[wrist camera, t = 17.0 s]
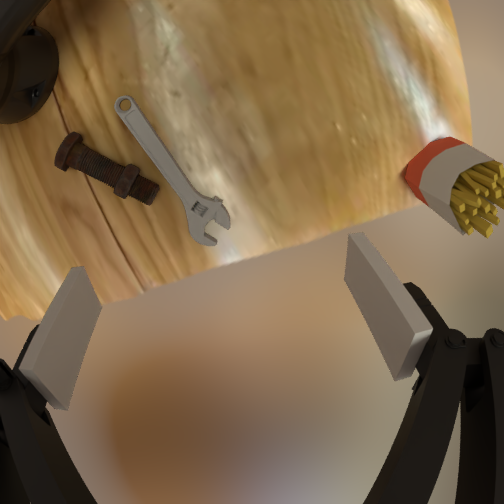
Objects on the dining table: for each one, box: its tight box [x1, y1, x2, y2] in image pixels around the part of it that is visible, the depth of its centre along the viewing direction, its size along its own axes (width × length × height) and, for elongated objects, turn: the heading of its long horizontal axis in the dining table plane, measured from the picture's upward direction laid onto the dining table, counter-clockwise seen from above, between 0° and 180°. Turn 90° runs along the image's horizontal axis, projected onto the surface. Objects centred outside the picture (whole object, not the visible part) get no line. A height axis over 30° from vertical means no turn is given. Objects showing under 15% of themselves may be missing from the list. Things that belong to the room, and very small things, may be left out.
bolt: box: [55, 132, 159, 205], centre depth 37 cm, size 6×5×15 cm
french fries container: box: [405, 137, 504, 238], centre depth 34 cm, size 5×11×18 cm, turn 134°
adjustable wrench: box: [114, 95, 230, 246], centre depth 39 cm, size 25×6×2 cm, turn 25°
